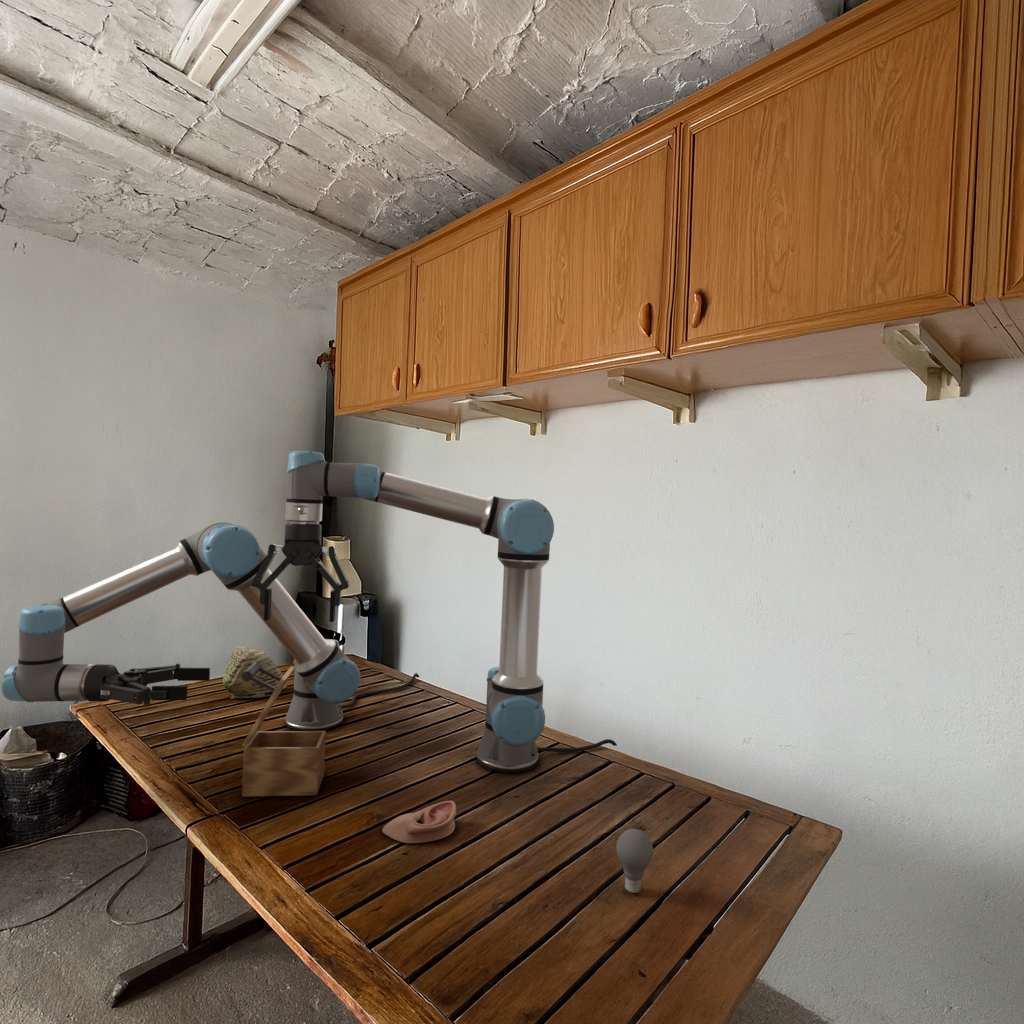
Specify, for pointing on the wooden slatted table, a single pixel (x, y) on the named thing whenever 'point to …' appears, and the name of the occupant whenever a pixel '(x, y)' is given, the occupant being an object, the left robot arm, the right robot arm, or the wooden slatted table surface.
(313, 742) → the chest
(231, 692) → the fossil
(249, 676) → the lid
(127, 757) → the wooden slatted table surface
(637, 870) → the light bulb
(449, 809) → the anatomical model
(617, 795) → the wooden slatted table surface
